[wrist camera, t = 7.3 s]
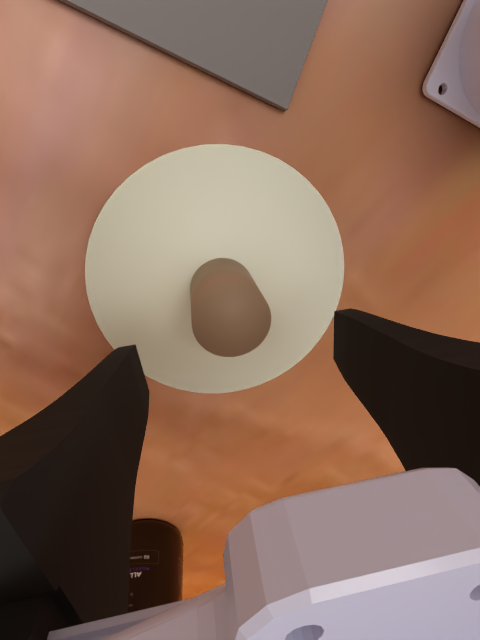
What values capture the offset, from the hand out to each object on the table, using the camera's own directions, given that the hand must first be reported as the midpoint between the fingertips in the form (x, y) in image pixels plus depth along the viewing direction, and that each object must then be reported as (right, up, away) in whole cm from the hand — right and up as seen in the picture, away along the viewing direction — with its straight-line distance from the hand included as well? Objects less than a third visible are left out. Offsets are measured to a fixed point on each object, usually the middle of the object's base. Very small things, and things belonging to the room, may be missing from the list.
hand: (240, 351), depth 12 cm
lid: (-1, +3, +6) cm, 7 cm away
